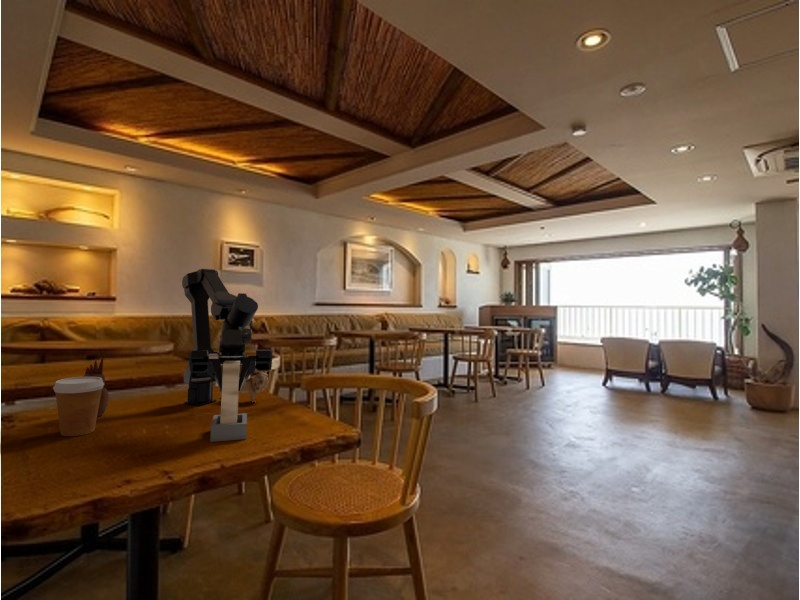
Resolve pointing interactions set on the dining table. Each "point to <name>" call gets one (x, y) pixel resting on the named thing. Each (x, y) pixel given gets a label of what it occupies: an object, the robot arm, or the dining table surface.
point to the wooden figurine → (104, 393)
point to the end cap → (229, 429)
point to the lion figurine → (255, 385)
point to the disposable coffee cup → (78, 404)
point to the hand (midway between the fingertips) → (230, 390)
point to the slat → (230, 392)
